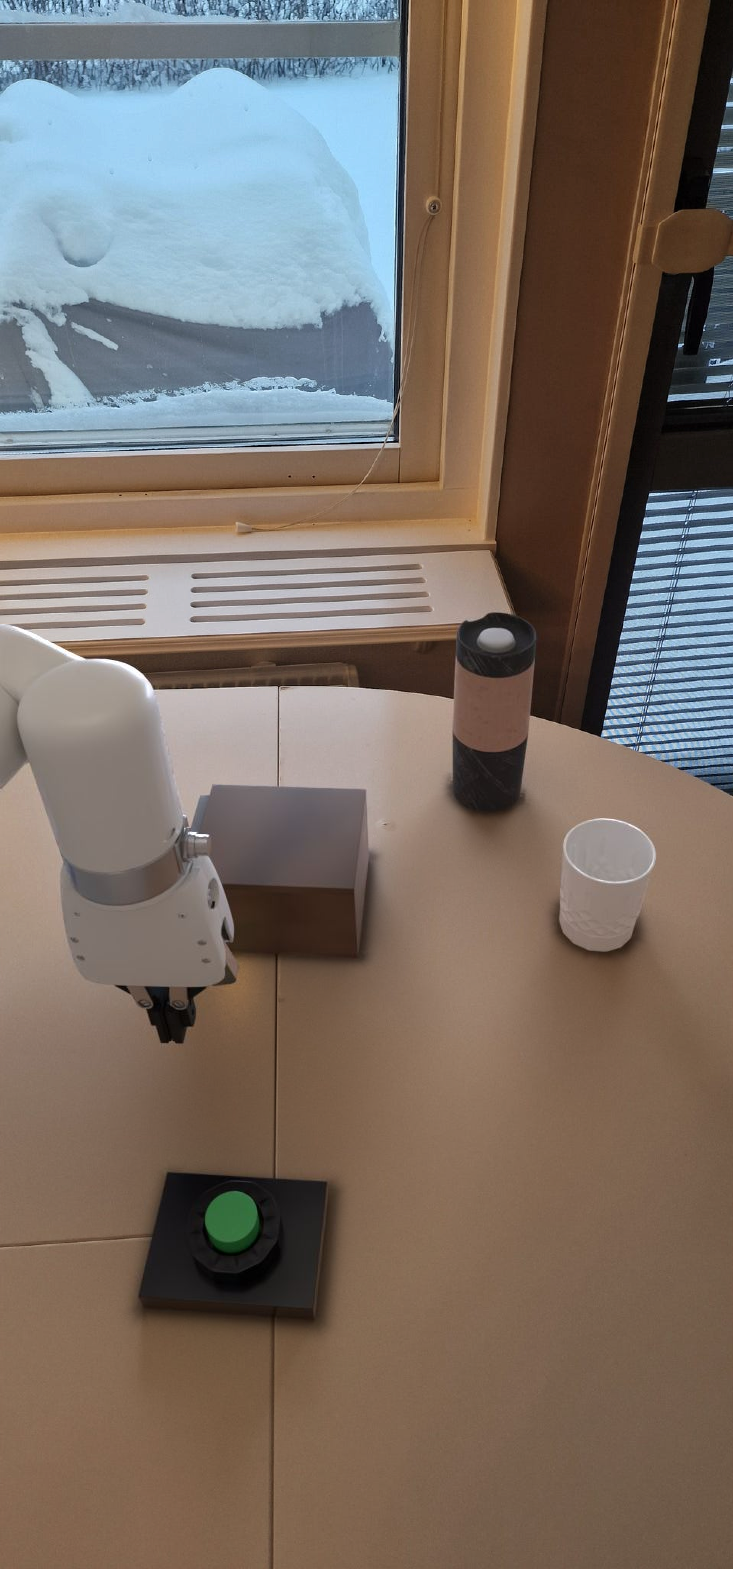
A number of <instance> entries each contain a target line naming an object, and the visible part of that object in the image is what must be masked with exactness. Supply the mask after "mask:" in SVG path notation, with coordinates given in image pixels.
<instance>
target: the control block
mask: <svg viewBox="0 0 733 1569" xmlns="http://www.w3.org/2000/svg"><path fill="white" fill-rule="evenodd" d="M232 1191H236V1192H241V1193H244V1194H246V1195H248V1196H249V1197H250V1198H251V1199H252V1200H253V1201H254V1203H255V1205H256V1208H257V1212H258V1217H259V1222H260V1229H259V1233H258V1236H257V1238H256V1239H255V1241H254V1242H253V1243H252V1245H251V1246H249V1247H248V1248H247V1249H245V1250H243V1251H241V1252H238V1253H225V1252H222V1251H220V1250H218V1249H217V1248H215V1247H214V1245H213V1244H212V1243H211V1241H210V1239H209V1235H208V1232H207V1228H206V1225H205V1215H206V1211H207V1209H208V1207H209V1205H210V1204H211V1202H212V1201H213V1200H214V1199H215V1198H217V1197H218V1196H220V1195H222V1194H224V1193H227V1192H232ZM329 1193H330V1192H329V1185H328V1181H324V1180H308V1179H293V1178H291V1179H290V1178H276V1177H275V1178H273V1177H259V1176H258V1177H257V1176H242V1175H227V1174H214V1173H213V1174H212V1173H211V1174H209V1173H197V1172H196V1173H194V1172H180V1171H179V1172H178V1171H166V1176H165V1179H164V1185H163V1188H162V1193H161V1197H160V1201H159V1206H158V1210H157V1215H156V1218H155V1223H154V1226H153V1232H152V1235H151V1239H150V1244H149V1248H148V1252H147V1257H146V1261H145V1266H144V1270H143V1273H142V1278H141V1283H140V1286H139V1291H138V1299H139V1302H140V1304H141V1307H142V1308H144V1309H156V1310H157V1309H158V1310H168V1311H169V1310H171V1311H183V1312H184V1311H185V1312H198V1313H212V1314H226V1315H240V1316H253V1317H254V1316H255V1317H267V1318H279V1319H295V1320H309V1321H315V1320H316V1312H317V1305H318V1304H317V1303H318V1295H319V1284H320V1277H321V1267H322V1258H323V1248H324V1240H325V1230H326V1221H327V1213H328V1206H329V1204H328V1203H329V1195H330V1194H329Z"/></svg>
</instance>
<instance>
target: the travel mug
mask: <svg viewBox="0 0 733 1569" xmlns="http://www.w3.org/2000/svg"><path fill="white" fill-rule="evenodd" d="M455 641H456V642H455V643H456V644H455V661H454V662H455V664H454V665H455V666H454V685H453V706H452V707H453V708H452V732H451V734H452V735H451V736H452V737H451V738H452V791H453V794H454V797H455V798H456V800H457V802H459V803H460V804H461V805H463V806H465V807H466V808H468V809H471V810H473V811H477V812H483V813H493V812H501V811H503V810H505V809H508V808H510V807H511V806H513V805H514V804H515V803H516V802H517V801H518V799H519V797H520V794H521V789H522V782H523V775H524V769H525V768H524V767H525V761H526V753H527V746H528V738H529V731H530V721H531V706H532V696H533V684H534V673H535V672H534V671H535V660H536V659H535V658H536V650H537V649H536V648H537V633H536V630H535V628H534V626H533V625H532V624H531V623H530V622H529V621H527V619H524V618H522V617H520V616H518V615H515V614H511V613H507V612H495V611H494V612H488V613H485V615H484V616H483V617H481V618H479V619H475V620H471V621H470V620H467V619H465V620H463V621H462V622H461V624H460V625H459V627H458V629H457V631H456V640H455Z"/></svg>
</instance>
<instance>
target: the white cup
mask: <svg viewBox="0 0 733 1569" xmlns="http://www.w3.org/2000/svg"><path fill="white" fill-rule="evenodd" d="M561 856H562V857H561V858H562V859H561V870H560V881H559V882H560V883H559V885H560V889H559V890H560V891H559V916H558V917H559V918H558V921H559V925H560V927H561V930H562V933H563V934H564V935H565V937H567V939H568V940H570V941H571V943H572V944H574V945H575V946H578V947H580V948H583V949H585V950H587V951H590V952H591V951H593V952H604V953H605V952H610V951H613V950H616V949H620V948H622V947H623V946H624V945H626V943H627V942H629V940H631V939H632V936H633V932H634V928H635V925H636V922H637V919H638V918H639V916H640V914H641V911H642V907H643V905H644V901H645V899H646V896H647V891H648V888H649V886H650V881H651V878H652V874H653V872H654V868H655V864H656V861H657V852H656V847H655V846H654V844H653V842H652V840H651V839H650V838H649V837H648V835H647V834H646V833H645V832H643V831H642V830H641V829H639V828H638V827H636V826H635V825H633V824H630V823H628V822H625V821H622V820H619V819H612V818H593V819H588V820H585V821H582V822H580V823H578V824H576V825H575V826H573V827H572V828H571V829H570V830H569V831H568V832H567V833H566V835H565V837H564V840H563V842H562V855H561Z"/></svg>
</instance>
